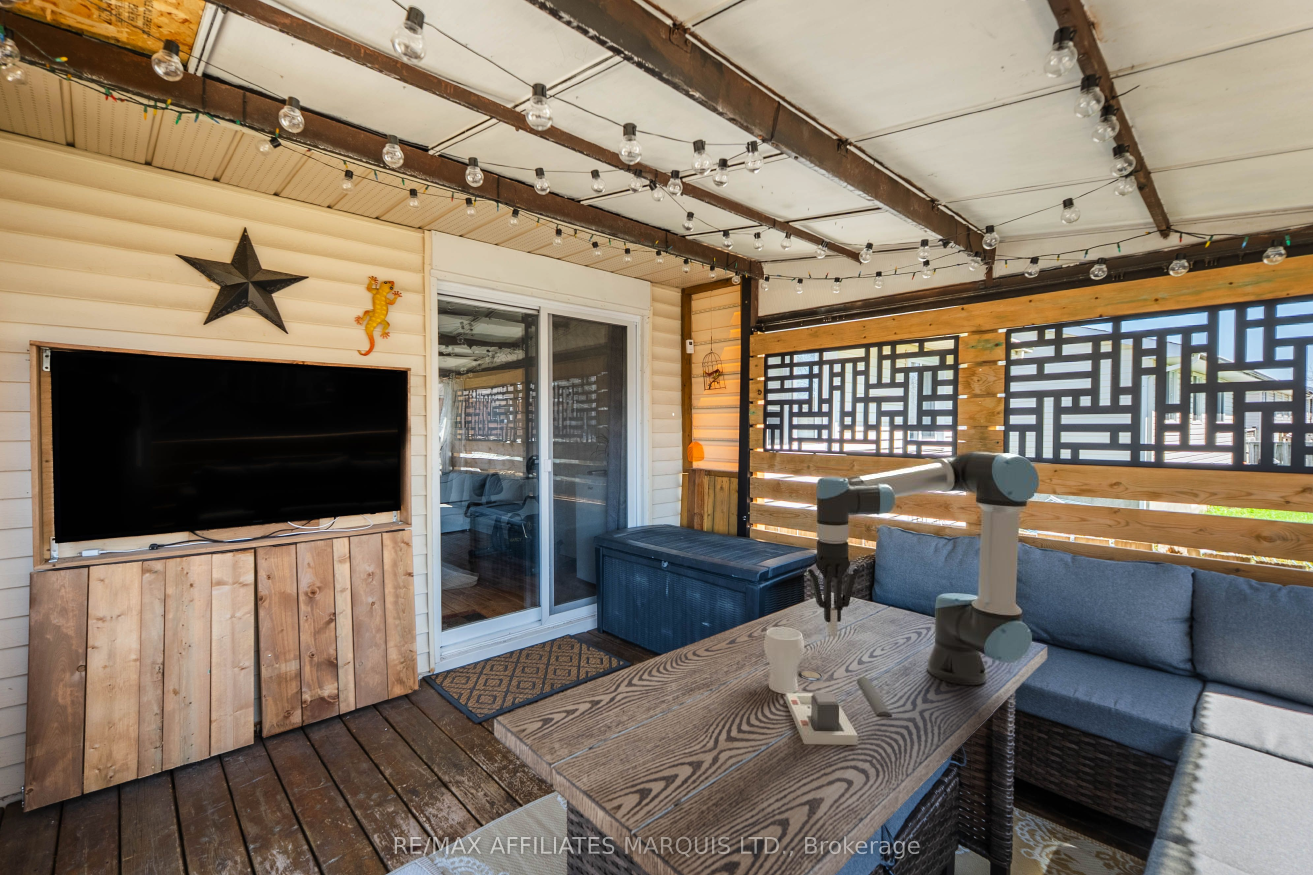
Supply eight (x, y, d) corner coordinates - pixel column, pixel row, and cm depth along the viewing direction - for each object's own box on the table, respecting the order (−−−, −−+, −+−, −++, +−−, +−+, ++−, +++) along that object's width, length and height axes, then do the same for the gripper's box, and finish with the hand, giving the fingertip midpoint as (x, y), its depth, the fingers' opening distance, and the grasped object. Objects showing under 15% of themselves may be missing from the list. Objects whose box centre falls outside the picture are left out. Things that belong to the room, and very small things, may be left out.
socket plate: (832, 701, 153) (832, 693, 153) (857, 744, 133) (857, 734, 133) (785, 701, 153) (785, 692, 153) (804, 743, 133) (804, 733, 133)
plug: (831, 724, 140) (832, 691, 140) (838, 736, 135) (839, 701, 135) (810, 724, 140) (811, 691, 140) (817, 736, 135) (817, 701, 135)
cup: (804, 698, 154) (805, 641, 154) (763, 694, 157) (763, 638, 156) (802, 680, 165) (803, 627, 164) (763, 677, 167) (764, 624, 167)
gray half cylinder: (871, 683, 165) (871, 677, 165) (893, 718, 145) (893, 711, 145) (855, 682, 165) (855, 676, 165) (875, 717, 146) (876, 710, 146)
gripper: (853, 536, 149) (853, 628, 150) (802, 537, 149) (802, 629, 150) (864, 542, 142) (864, 639, 142) (810, 543, 141) (810, 640, 142)
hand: (832, 634), depth 146 cm, fingers closed
